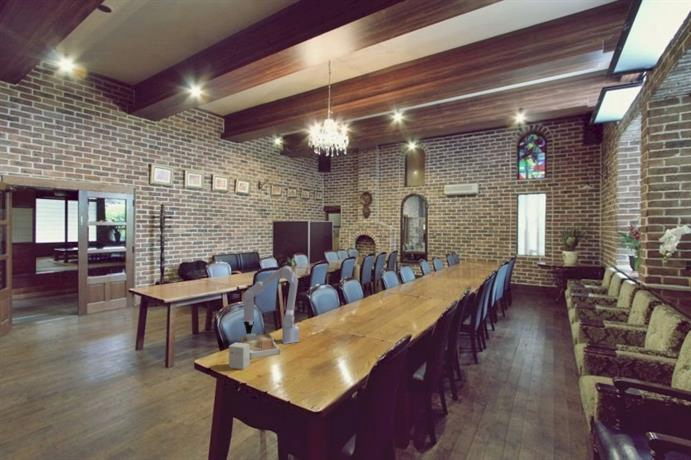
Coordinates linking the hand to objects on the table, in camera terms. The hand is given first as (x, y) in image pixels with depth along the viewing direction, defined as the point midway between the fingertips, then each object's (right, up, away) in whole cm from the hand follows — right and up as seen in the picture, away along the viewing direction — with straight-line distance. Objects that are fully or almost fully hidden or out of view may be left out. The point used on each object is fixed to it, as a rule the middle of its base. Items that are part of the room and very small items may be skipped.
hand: (248, 334), depth 193 cm
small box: (+5, -5, -33) cm, 34 cm away
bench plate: (+6, -5, -4) cm, 9 cm away
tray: (+12, -5, -16) cm, 20 cm away
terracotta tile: (+13, -2, -11) cm, 17 cm away
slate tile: (+3, -1, -6) cm, 7 cm away
